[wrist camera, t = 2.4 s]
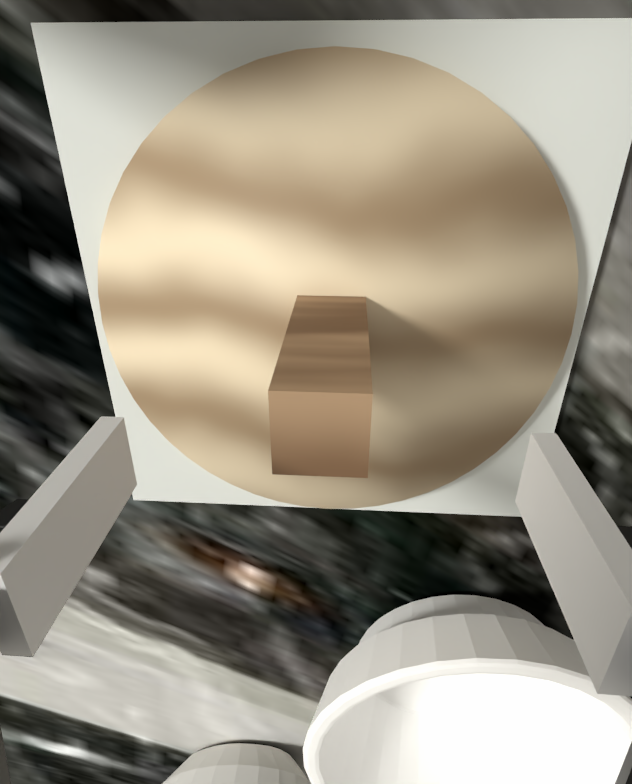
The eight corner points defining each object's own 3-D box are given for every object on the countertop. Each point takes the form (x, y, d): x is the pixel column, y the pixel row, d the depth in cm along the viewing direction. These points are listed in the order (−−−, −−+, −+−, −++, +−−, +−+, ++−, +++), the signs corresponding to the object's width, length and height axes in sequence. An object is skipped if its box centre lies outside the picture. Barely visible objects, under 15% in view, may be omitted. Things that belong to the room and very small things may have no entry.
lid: (58, 51, 22) (-177, 1, 12) (631, 47, 21) (879, -13, 11) (146, 488, 34) (61, 643, 24) (518, 504, 32) (591, 674, 22)
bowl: (257, 606, 39) (236, 719, 32) (547, 505, 33) (603, 616, 26) (386, 753, 48) (392, 868, 41) (635, 696, 42) (695, 819, 34)
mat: (37, 24, 22) (30, 22, 22) (656, 20, 21) (664, 17, 20) (136, 494, 35) (133, 499, 34) (528, 510, 33) (531, 517, 33)
